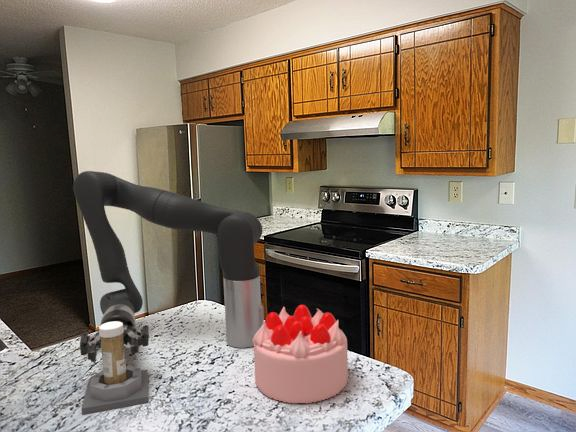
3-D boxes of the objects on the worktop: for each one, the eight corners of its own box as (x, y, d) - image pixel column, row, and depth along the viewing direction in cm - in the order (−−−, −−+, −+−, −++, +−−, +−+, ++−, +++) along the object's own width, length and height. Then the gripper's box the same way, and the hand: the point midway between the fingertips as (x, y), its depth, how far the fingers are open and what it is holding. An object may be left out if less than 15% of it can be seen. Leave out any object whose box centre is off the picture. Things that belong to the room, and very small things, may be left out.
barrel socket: (147, 374, 100) (146, 359, 99) (148, 402, 88) (146, 385, 88) (89, 384, 96) (87, 368, 96) (81, 414, 85) (80, 396, 84)
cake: (362, 396, 89) (362, 327, 87) (263, 413, 84) (260, 340, 82) (329, 354, 107) (328, 296, 105) (246, 365, 103) (244, 306, 101)
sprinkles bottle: (130, 388, 91) (125, 325, 90) (106, 395, 89) (101, 330, 87) (124, 379, 95) (120, 318, 94) (102, 385, 93) (96, 323, 91)
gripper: (82, 313, 102) (71, 341, 86) (148, 305, 106) (149, 330, 90) (85, 344, 103) (75, 378, 87) (151, 335, 107) (152, 366, 91)
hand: (113, 354), depth 89 cm, fingers open, 7 cm apart
